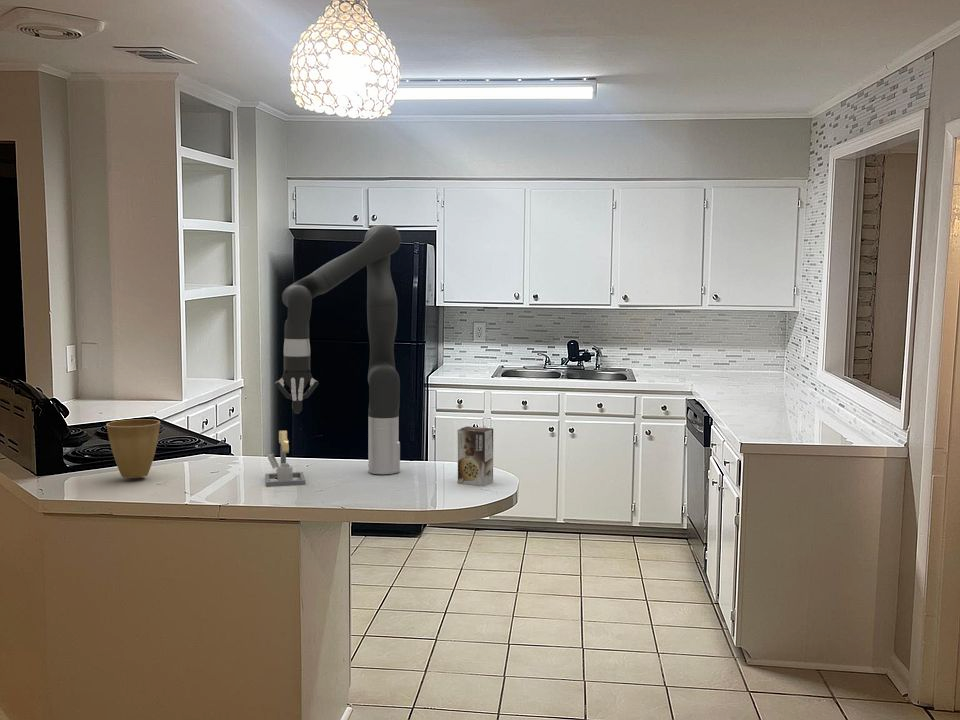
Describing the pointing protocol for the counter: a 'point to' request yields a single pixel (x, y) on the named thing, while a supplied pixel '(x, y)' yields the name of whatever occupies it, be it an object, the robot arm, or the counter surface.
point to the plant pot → (133, 445)
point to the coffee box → (475, 456)
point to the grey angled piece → (281, 469)
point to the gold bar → (284, 441)
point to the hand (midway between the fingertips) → (297, 413)
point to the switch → (288, 482)
